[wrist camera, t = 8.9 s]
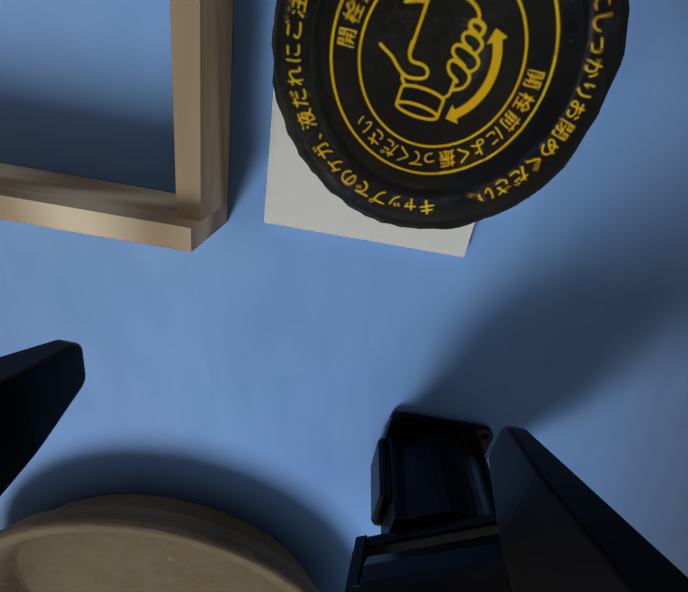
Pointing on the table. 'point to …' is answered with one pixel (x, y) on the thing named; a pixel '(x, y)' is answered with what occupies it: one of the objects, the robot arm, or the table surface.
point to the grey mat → (336, 204)
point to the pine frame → (190, 153)
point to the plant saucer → (143, 550)
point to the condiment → (442, 98)
